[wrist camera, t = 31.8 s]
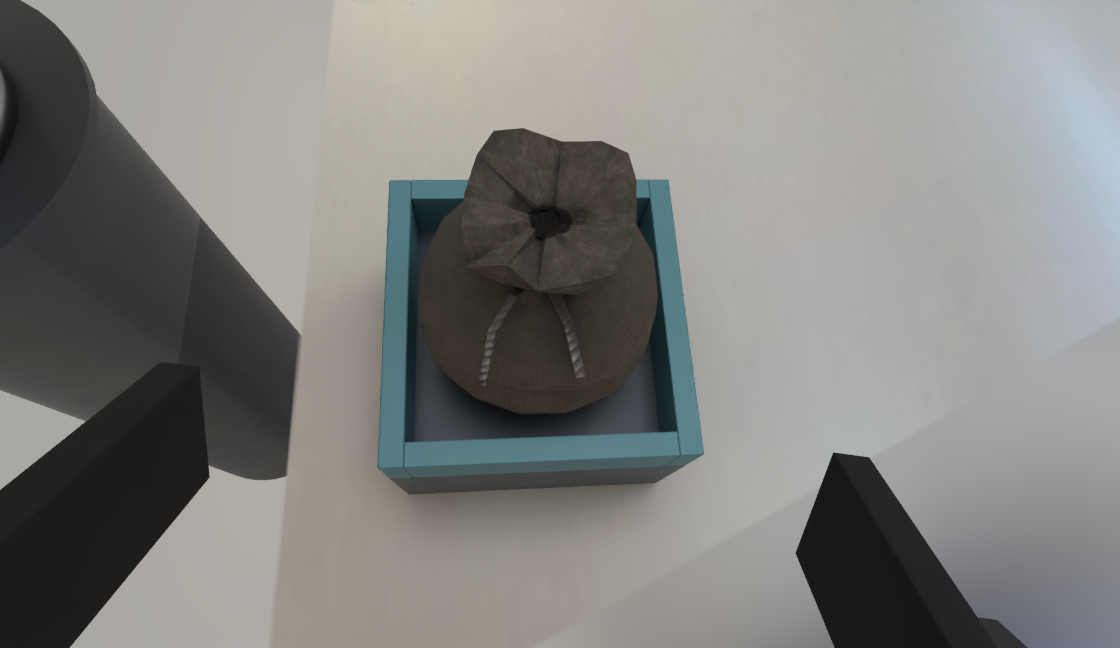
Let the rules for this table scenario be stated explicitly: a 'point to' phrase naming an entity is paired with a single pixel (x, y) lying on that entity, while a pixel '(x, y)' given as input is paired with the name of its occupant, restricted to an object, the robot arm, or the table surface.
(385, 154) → the table surface
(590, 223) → the cloth sack
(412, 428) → the blue square open box
